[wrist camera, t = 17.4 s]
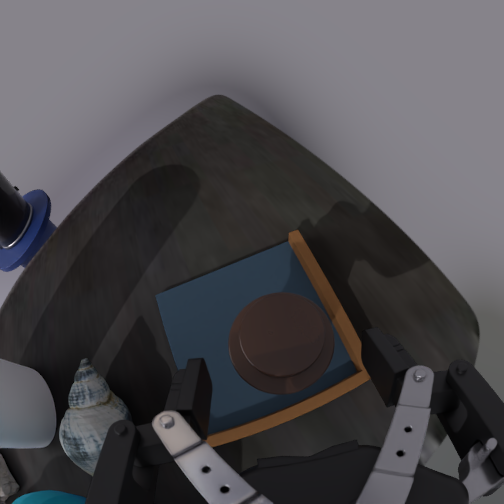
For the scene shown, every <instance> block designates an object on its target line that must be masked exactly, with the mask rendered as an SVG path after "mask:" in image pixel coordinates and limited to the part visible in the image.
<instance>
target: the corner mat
mask: <svg viewBox="0 0 504 504" xmlns="http://www.w3.org/2000/svg"><path fill="white" fill-rule="evenodd" d="M278 292H287V293H294V294H297V295H301V296H303V297H306V298H307V299H309V300H311V301H312V302H314V303H315V304H317V305H318V306H319V307H320V308H321V309H322V310H323V312H324V313H325V314H326V316H327V317H328V319H329V321H330V323H331V325H332V329H333V332H334V341H335V346H334V353H333V357H332V360H331V362H330V365H329V366H328V368H327V370H326V371H325V373H324V374H323V375H322V376H321V378H320V379H318V380H317V381H316V382H315V383H314V384H312V385H311V386H309V387H308V388H306V389H304V390H301V391H299V392H296V393H292V394H284V395H277V394H269V393H266V392H262V391H260V390H258V389H255V388H254V387H252V386H250V385H249V384H248V383H247V382H245V381H244V380H243V379H242V378H241V377H240V376H239V374H238V373H237V371H236V370H235V368H234V366H233V364H232V362H231V359H230V355H229V349H228V340H229V333H230V329H231V327H232V324H233V322H234V320H235V318H236V317H237V315H238V314H239V313H240V311H241V310H242V309H243V308H244V307H245V306H247V305H248V304H249V303H250V302H252V301H253V300H255V299H257V298H259V297H261V296H264V295H267V294H271V293H278ZM156 299H157V303H158V307H159V311H160V314H161V318H162V321H163V325H164V328H165V332H166V335H167V338H168V341H169V345H170V348H171V351H172V354H173V357H174V360H175V363H176V366H177V369H178V371H179V369H186V365H187V361H188V359H192V358H204V360H205V362H206V365H207V368H208V371H209V374H210V377H211V381H212V387H213V391H212V400H211V408H210V417H209V426H208V435H207V440H205V441H206V442H207V443H208V444H209V445H210V446H211V447H215V446H218V445H222V444H225V443H229V442H232V441H235V440H238V439H241V438H244V437H247V436H250V435H253V434H256V433H258V432H261V431H264V430H267V429H269V428H272V427H274V426H277V425H279V424H282V423H284V422H287V421H289V420H291V419H294V418H296V417H298V416H301V415H303V414H305V413H307V412H309V411H311V410H314V409H316V408H318V407H320V406H322V405H324V404H326V403H328V402H330V401H332V400H334V399H336V398H338V397H339V396H341V395H343V394H345V393H347V392H349V391H351V390H352V389H354V388H356V387H358V386H359V385H361V384H363V383H364V382H366V381H368V380H370V379H371V378H370V376H369V374H368V373H367V371H366V369H365V367H364V366H363V363H362V360H361V346H362V343H361V341H360V339H359V337H358V335H357V333H356V331H355V329H354V328H353V326H352V324H351V322H350V320H349V318H348V316H347V314H346V313H345V311H344V309H343V307H342V305H341V303H340V302H339V300H338V298H337V296H336V294H335V293H334V291H333V289H332V287H331V285H330V284H329V282H328V280H327V278H326V277H325V275H324V273H323V271H322V269H321V268H320V266H319V264H318V263H317V261H316V259H315V257H314V256H313V254H312V252H311V251H310V249H309V247H308V245H307V244H306V242H305V240H304V239H303V237H302V235H301V234H300V232H299V230H295V231H292V232H290V233H289V240H288V241H287V242H285V243H282V244H280V245H278V246H275V247H273V248H270V249H268V250H265V251H263V252H260V253H258V254H256V255H253V256H251V257H248V258H246V259H243V260H241V261H238V262H236V263H234V264H231V265H229V266H226V267H224V268H221V269H219V270H216V271H214V272H211V273H209V274H207V275H204V276H202V277H199V278H197V279H194V280H192V281H189V282H187V283H184V284H182V285H179V286H177V287H174V288H172V289H170V290H167V291H165V292H162V293H160V294H157V295H156Z"/></svg>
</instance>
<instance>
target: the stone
mask: <svg viewBox="0 0 504 504" xmlns="http://www.w3.org/2000/svg"><path fill="white" fill-rule="evenodd" d="M18 490H19V485H18V484H17V483H16V481H15V479H14V478H13V476H12V475H11V473H10V471H9V469H8V467H7V465H6V463H5V461H4V458H3V457H2V455H1V454H0V504H4V503H5V500H6V499H7V498H8V497H9V496H10V495H13V494H16V493H17V492H18Z"/></svg>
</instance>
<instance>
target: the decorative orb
mask: <svg viewBox="0 0 504 504" xmlns="http://www.w3.org/2000/svg"><path fill="white" fill-rule="evenodd" d="M85 501H86V498H85V497H83V496H78V495H74V494H69V493H65V492H61V491H53V490H47V491H39V492H33V493H29V494H25V495H22V496H21V497H19V498H17V499H16V500H15V501H14V502H13V503H12V504H85Z"/></svg>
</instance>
